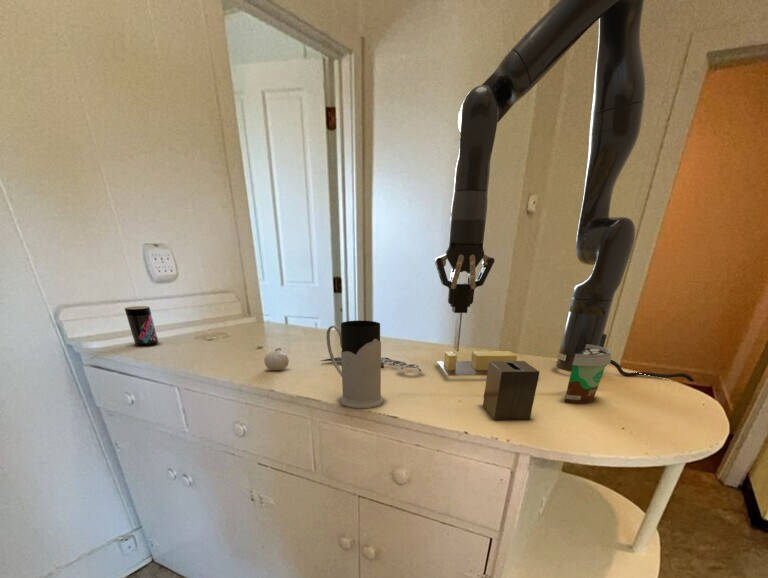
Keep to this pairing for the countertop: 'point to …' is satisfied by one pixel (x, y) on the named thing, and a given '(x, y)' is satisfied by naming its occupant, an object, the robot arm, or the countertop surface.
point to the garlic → (276, 360)
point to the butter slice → (450, 360)
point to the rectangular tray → (462, 369)
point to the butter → (489, 358)
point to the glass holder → (359, 363)
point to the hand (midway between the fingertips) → (460, 306)
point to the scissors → (385, 361)
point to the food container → (587, 374)
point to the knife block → (510, 390)
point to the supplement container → (141, 325)
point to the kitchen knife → (460, 309)
